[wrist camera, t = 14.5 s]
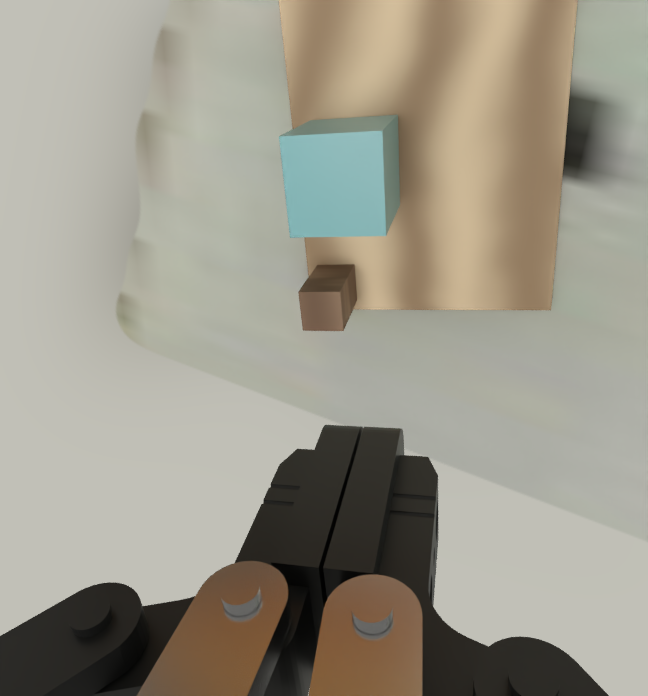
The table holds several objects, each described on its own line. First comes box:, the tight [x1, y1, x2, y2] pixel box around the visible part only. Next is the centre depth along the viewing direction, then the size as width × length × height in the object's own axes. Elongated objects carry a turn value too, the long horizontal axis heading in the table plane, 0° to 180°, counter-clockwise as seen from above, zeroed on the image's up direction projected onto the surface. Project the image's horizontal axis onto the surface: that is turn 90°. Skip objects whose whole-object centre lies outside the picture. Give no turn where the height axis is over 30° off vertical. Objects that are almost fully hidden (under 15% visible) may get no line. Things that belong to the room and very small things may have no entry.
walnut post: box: [299, 264, 357, 331], centre depth 39 cm, size 3×3×5 cm
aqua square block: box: [279, 115, 400, 238], centre depth 33 cm, size 5×5×7 cm
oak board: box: [279, 0, 578, 310], centre depth 35 cm, size 16×25×1 cm, turn 5°
